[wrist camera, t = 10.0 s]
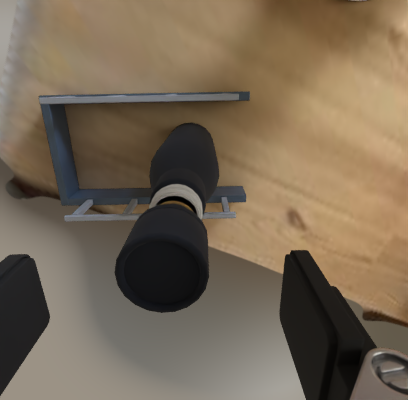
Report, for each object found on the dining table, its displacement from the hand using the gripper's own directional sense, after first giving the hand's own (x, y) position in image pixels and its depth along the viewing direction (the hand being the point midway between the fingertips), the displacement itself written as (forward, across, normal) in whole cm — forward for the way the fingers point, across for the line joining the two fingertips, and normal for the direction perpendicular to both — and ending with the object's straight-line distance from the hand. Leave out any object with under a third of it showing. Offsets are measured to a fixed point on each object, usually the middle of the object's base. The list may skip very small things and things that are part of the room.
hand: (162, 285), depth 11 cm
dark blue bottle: (+31, 0, 0) cm, 31 cm away
